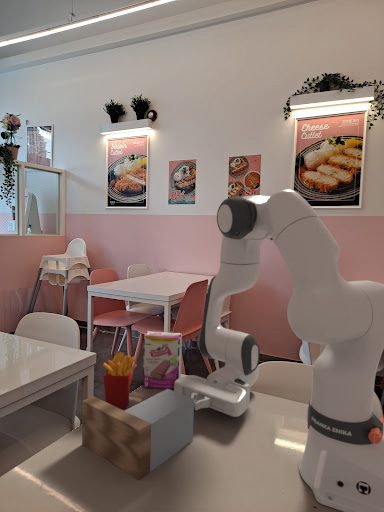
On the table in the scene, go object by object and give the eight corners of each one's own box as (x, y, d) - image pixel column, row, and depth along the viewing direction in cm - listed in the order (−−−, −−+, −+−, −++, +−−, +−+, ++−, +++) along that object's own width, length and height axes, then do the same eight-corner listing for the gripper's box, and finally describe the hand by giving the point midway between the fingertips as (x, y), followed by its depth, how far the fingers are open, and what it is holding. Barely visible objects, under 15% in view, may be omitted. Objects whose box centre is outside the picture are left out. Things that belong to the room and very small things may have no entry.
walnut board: (150, 471, 72) (150, 423, 71) (139, 480, 70) (139, 430, 69) (93, 438, 83) (93, 396, 82) (82, 444, 80) (82, 400, 80)
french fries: (102, 412, 94) (102, 356, 93) (109, 398, 102) (109, 346, 101) (135, 413, 94) (136, 357, 93) (140, 398, 102) (141, 347, 101)
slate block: (192, 440, 83) (193, 398, 82) (150, 472, 72) (151, 424, 71) (166, 428, 88) (167, 388, 87) (122, 456, 77) (123, 411, 76)
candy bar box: (142, 388, 109) (142, 335, 108) (145, 381, 114) (146, 330, 113) (178, 391, 108) (180, 337, 107) (181, 383, 113) (182, 332, 112)
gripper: (192, 366, 106) (160, 381, 95) (255, 386, 94) (226, 406, 83) (191, 386, 106) (159, 404, 95) (254, 409, 94) (226, 432, 83)
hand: (191, 405), depth 89 cm, fingers closed
